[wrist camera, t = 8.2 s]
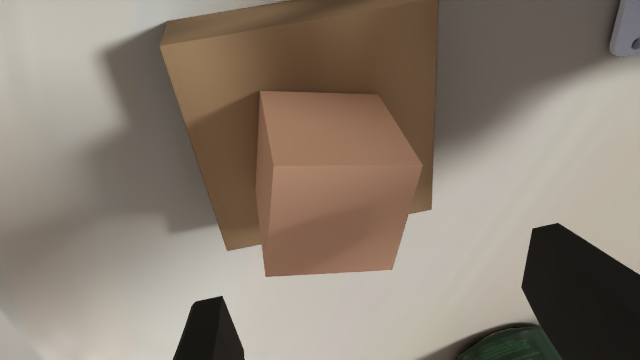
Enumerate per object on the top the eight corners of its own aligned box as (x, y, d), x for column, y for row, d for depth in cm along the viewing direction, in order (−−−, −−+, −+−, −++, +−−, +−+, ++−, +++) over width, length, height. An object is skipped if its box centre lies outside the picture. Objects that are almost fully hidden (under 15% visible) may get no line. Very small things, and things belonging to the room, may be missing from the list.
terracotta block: (378, 94, 17) (422, 165, 13) (358, 188, 19) (392, 269, 16) (260, 90, 16) (273, 165, 12) (255, 190, 18) (265, 276, 15)
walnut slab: (408, -24, 18) (438, -2, 15) (409, 170, 23) (431, 209, 20) (168, 17, 17) (159, 46, 15) (226, 207, 22) (227, 250, 20)
